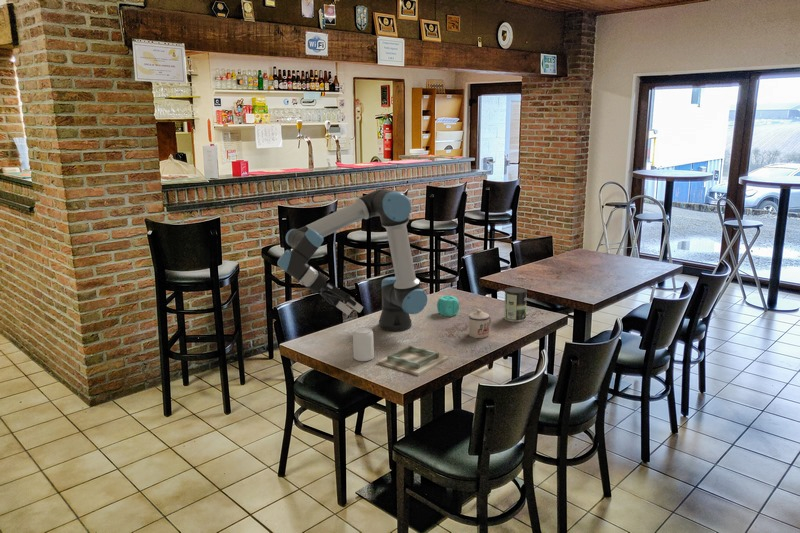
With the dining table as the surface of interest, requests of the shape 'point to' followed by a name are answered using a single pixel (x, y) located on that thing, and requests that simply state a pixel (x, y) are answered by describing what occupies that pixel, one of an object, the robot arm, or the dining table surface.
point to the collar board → (413, 360)
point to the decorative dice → (448, 306)
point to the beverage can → (363, 344)
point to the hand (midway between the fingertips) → (355, 311)
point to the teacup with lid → (479, 324)
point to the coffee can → (515, 304)
